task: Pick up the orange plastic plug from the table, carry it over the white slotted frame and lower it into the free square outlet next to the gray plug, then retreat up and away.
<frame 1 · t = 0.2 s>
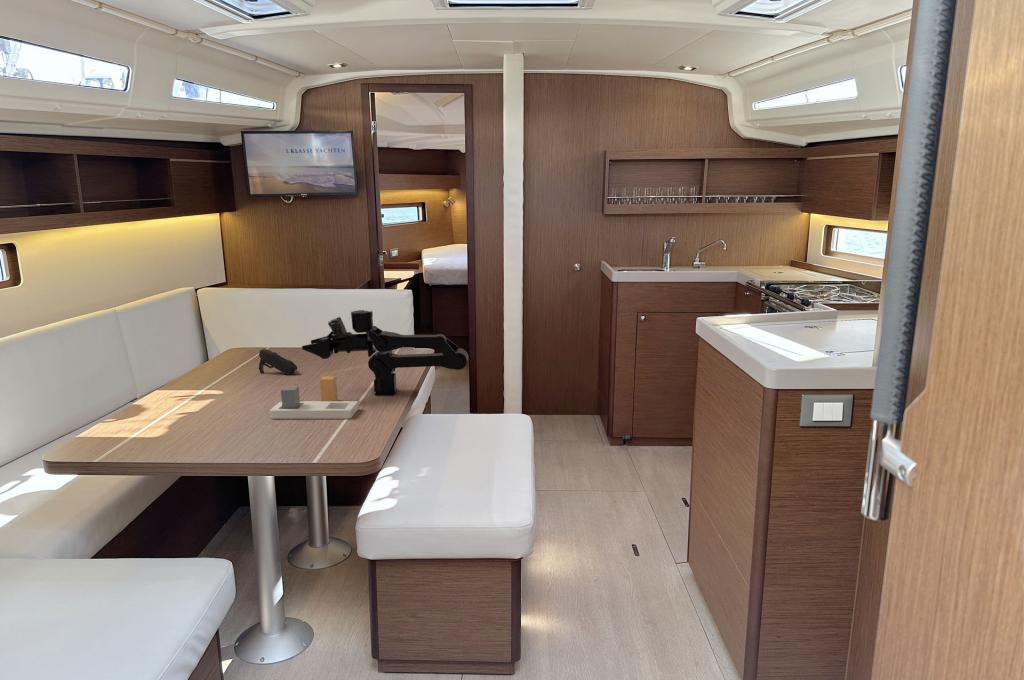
hand: (306, 344, 225), 17 cm above the table, tool horizontal, fingers open, 9 cm apart
gun: (279, 374, 254), on the table
white slotted frame: (315, 413, 207), on the table
orange plug: (329, 402, 219), on the table
gray plug: (291, 413, 207), resting in white slotted frame
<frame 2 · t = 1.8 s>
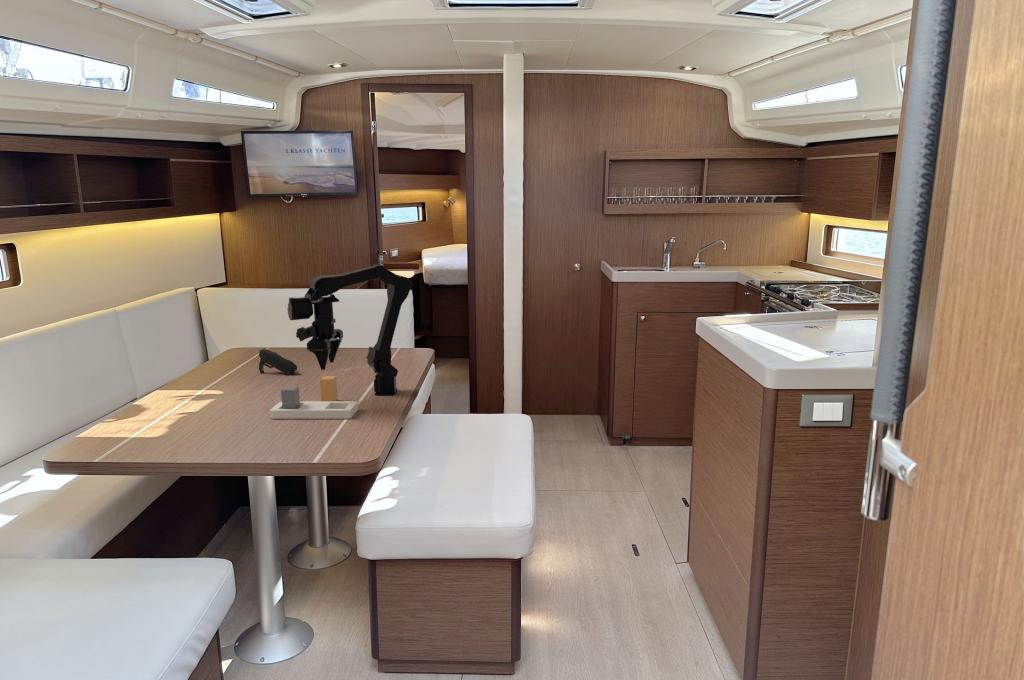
hand: (327, 365, 216), 12 cm above the table, tool pointing down, fingers open, 9 cm apart
nothing on the table moved.
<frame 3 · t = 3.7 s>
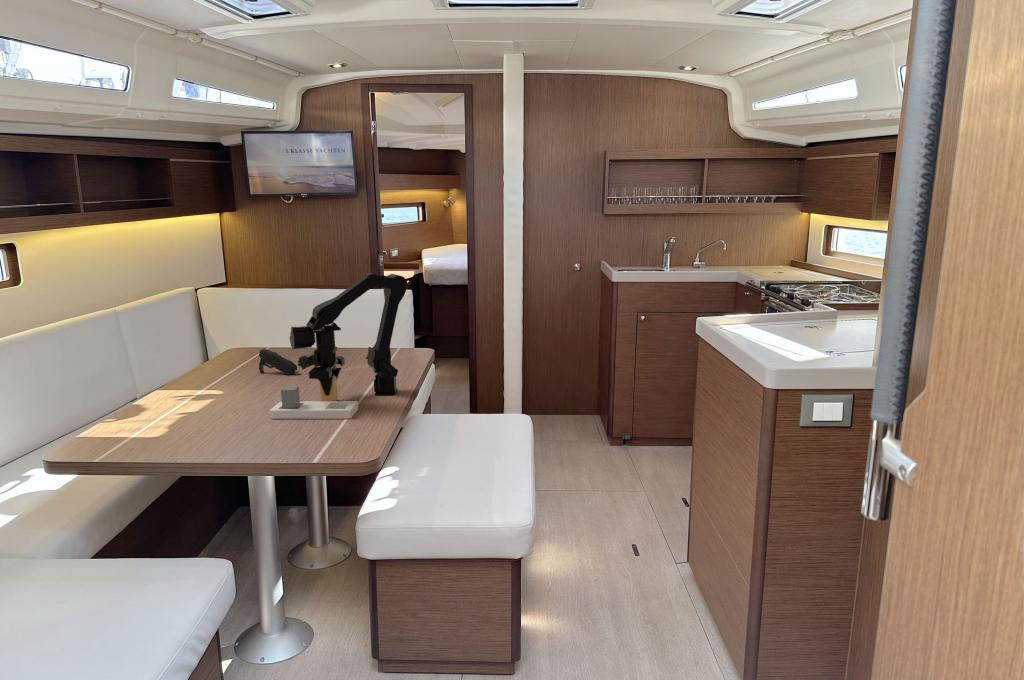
hand: (329, 393, 218), 3 cm above the table, tool pointing down, fingers closed on orange plug, 4 cm apart
orange plug: (329, 402, 219), on the table, touching gripper
everything else where it was.
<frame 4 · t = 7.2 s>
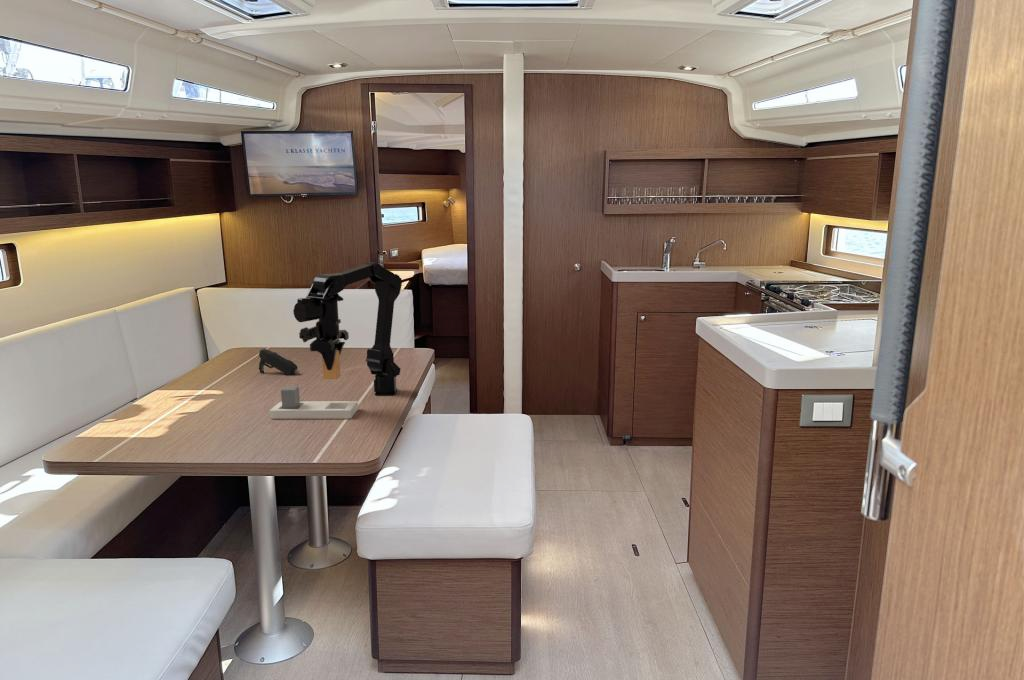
hand: (331, 368, 208), 13 cm above the table, tool pointing down, fingers closed on orange plug, 4 cm apart
orange plug: (332, 377, 208), point 10 cm above the table, touching gripper
everything else where it was.
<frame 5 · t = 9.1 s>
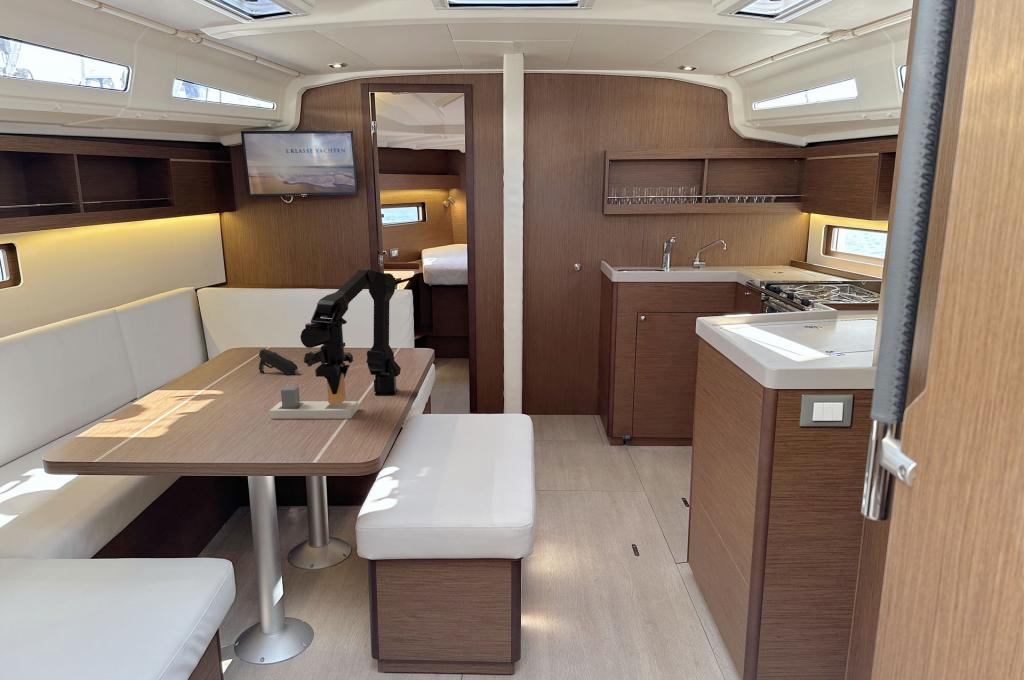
hand: (336, 392, 205), 7 cm above the table, tool pointing down, fingers closed on orange plug, 4 cm apart
orange plug: (337, 401, 206), point 4 cm above the table, touching gripper
everything else where it was.
when the fingers open (4 cm above the table, at t = 10.5 s): orange plug drops 1 cm, resting in white slotted frame.
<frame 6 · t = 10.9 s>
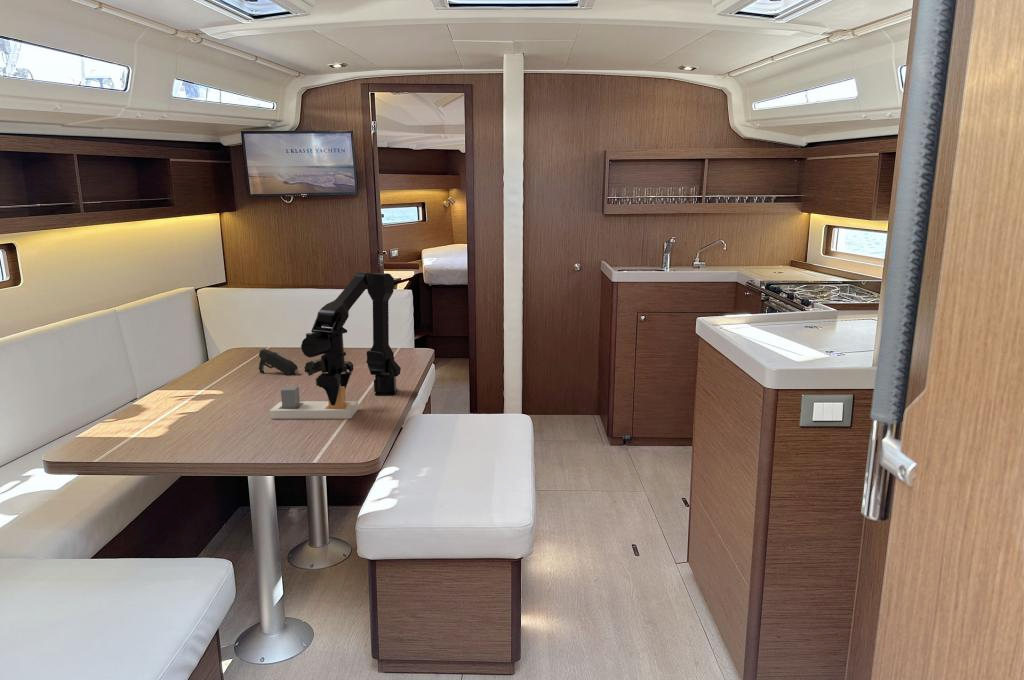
hand: (337, 400, 206), 4 cm above the table, tool pointing down, fingers open, 8 cm apart
orange plug: (338, 413, 207), resting in white slotted frame
everything else where it was.
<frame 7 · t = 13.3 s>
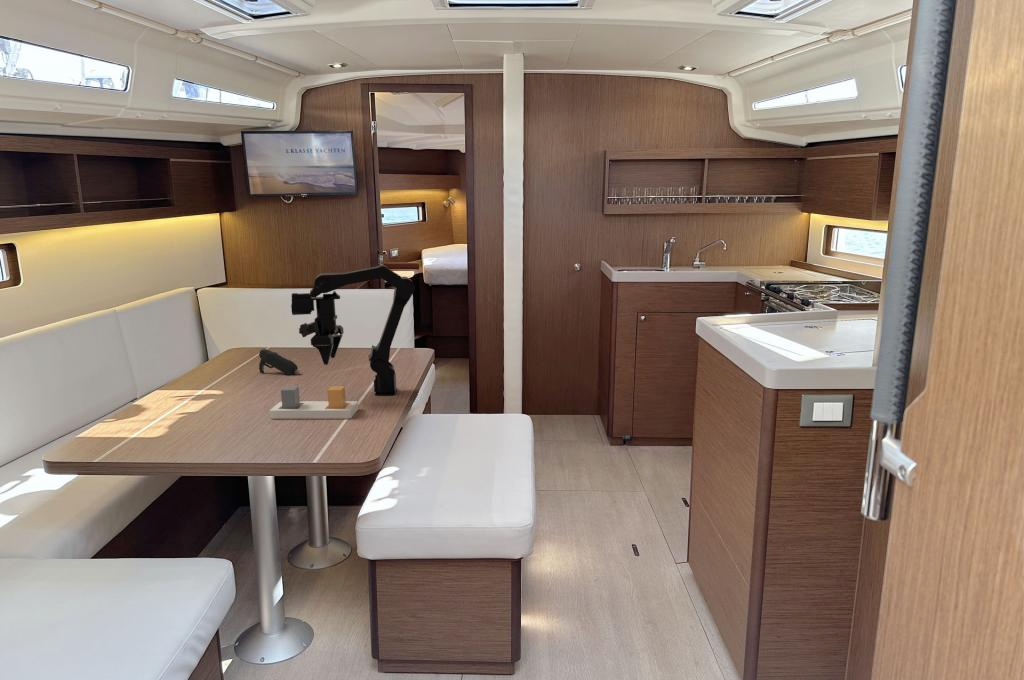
hand: (329, 361, 221), 12 cm above the table, tool pointing down, fingers open, 9 cm apart
nothing on the table moved.
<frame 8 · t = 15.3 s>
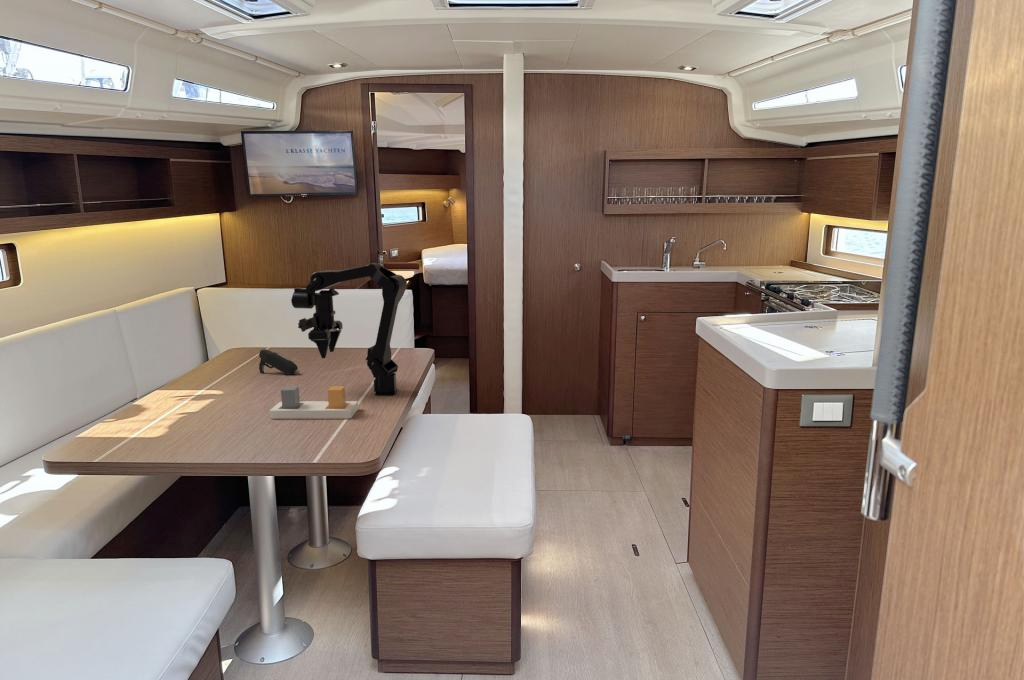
hand: (327, 355, 230), 12 cm above the table, tool pointing down, fingers open, 9 cm apart
nothing on the table moved.
at the end: orange plug 0.1 cm from the target spot on the white slotted frame, point 0.0 cm above the white slotted frame's base; orange plug tilted 0°; the gripper is holding nothing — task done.
